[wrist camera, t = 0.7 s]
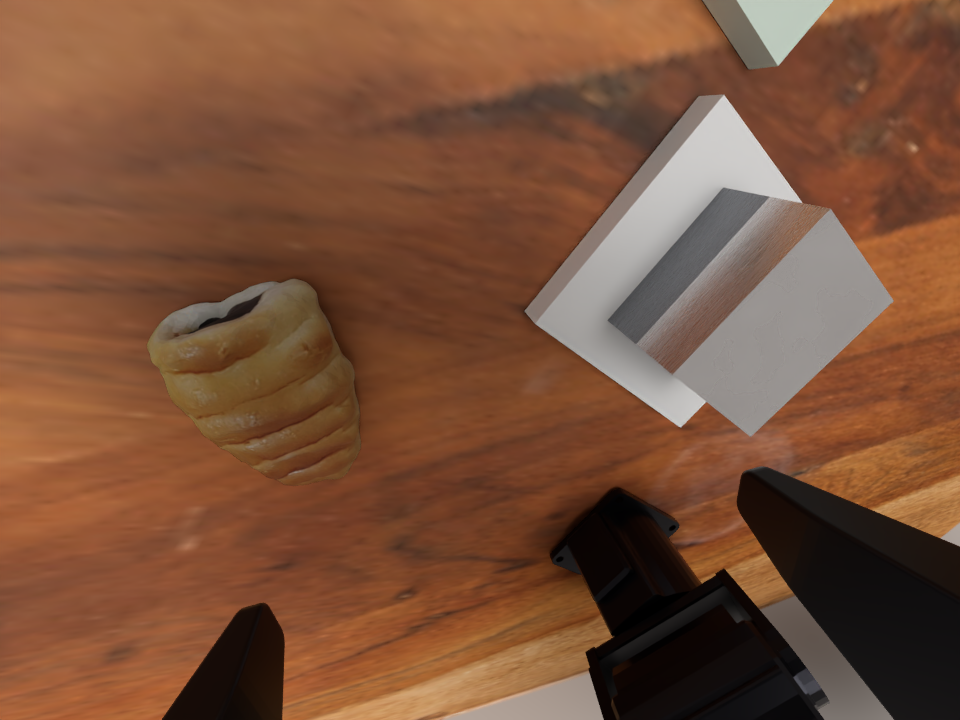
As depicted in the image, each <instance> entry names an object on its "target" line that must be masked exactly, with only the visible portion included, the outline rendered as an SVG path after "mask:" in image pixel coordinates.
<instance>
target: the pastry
mask: <svg viewBox="0 0 960 720" xmlns="http://www.w3.org/2000/svg"><path fill="white" fill-rule="evenodd" d="M147 349H148V351H149V352H150V357H151V362H152V363H153V364H154V365H155V366H157V367H159V369H160V373H161V374H162V376H163V378H164V381H165V384H166V387H167V390H168V393H169V396H170V397H171V399H172V401H173V403H174V404H175V405H176V406H177V407H179V408H180V409H181V410H182V411H183V412H184V413H185V414H187V415H188V416H189V417H190V418H191V419H192V420H193V422H194V423H195V425H196V426H197V427H198V428H199V430H200V431H201V433H202V434H203V435H204V436H205V437H207V438H208V439H210V440H211V441H212V442H214V443H215V444H216V445H217V446H218V447H219V448H221V449H224V450H227V451H229V452H230V453H231V454H232V455H233V456H235V457H236V458H237V459H239V460H240V461H241V462H245V463H247V464H249V465H250V466H251V467H252V468H254V469H256V470H258V471H260V472H261V473H262V474H263V475H265V476H266V477H269V478H272V479H275V480H278V481H280V482H281V483H282V484H284V485H290V486H299V485H307V484H311V483H315V482H319V481H322V480H326V479H339V478H342V477H343V476H344V475H346V474H347V472H348V471H349V469H350V467H351V464H352V463H353V461H354V460H355V459H356V457H357V455H358V453H359V451H360V447H361V439H360V433H359V418H360V408H359V403H358V399H357V397H356V394H355V388H354V383H353V382H354V379H355V372H354V369H353V366H352V364H351V362H350V361H349V360H348V359H347V358H346V357H345V356H344V355H343V354H342V353H341V351H340V348H339V346H338V343H337V342H336V340H335V337H334V334H333V332H332V328H331V325H330V323H329V322H328V319H327V317H326V316H325V315H324V313H323V312H322V310H321V309H320V307H319V303H318V298H317V293H316V291H315V290H314V289H313V288H312V287H311V286H310V285H309V284H308V283H307V282H304V281H302V280H298V279H290V280H287V281H285V282H282V283H278V282H275V281H270V282H265V283H261V284H258V285H254V286H250V287H249V288H247V289H246V290H244V291H242V292H240V293H236V294H234V295H232V296H230V297H229V298H227V299H225V300H224V301H222V302H218V303H208V302H207V303H198V304H194V305H190V306H188V307H186V308H183V309H181V310H178V311H174V312H173V313H171V314H170V315H169V316H168V317H166V318H165V319H164V320H163V321H162V322H161V323H160V324H159V325H158V327H157V328H156V329H155V331H154V332H153V334H152V335H151V337H150V339H149V341H148V343H147Z"/></svg>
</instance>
